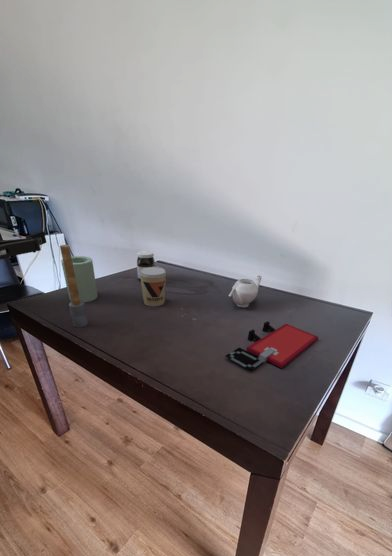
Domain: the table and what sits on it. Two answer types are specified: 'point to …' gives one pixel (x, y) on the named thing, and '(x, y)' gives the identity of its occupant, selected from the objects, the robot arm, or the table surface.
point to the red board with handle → (273, 346)
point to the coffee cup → (153, 285)
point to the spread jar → (145, 261)
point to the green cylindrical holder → (83, 278)
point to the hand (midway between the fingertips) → (18, 235)
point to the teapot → (245, 291)
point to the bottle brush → (73, 290)
